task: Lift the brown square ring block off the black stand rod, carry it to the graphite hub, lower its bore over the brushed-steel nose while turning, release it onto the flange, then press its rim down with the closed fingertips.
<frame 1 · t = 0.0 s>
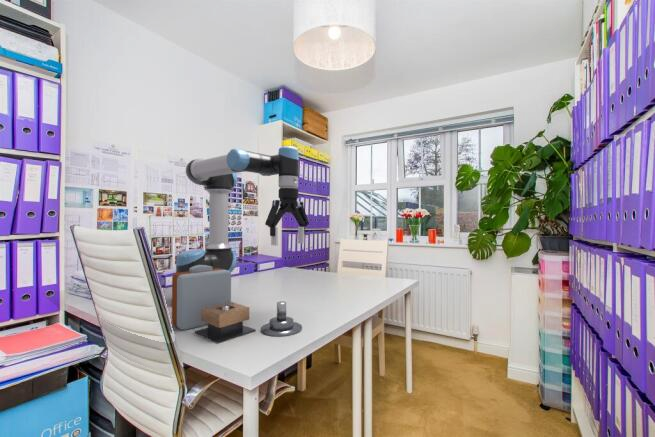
hand: (288, 244, 118), 28 cm above the table, fingers open, 13 cm apart
stand: (225, 331, 104), on the table
grey rounded upright slab: (202, 323, 113), on the table
brown square ring block: (225, 319, 104), point 4 cm above the table, touching stand
hub: (281, 328, 107), on the table
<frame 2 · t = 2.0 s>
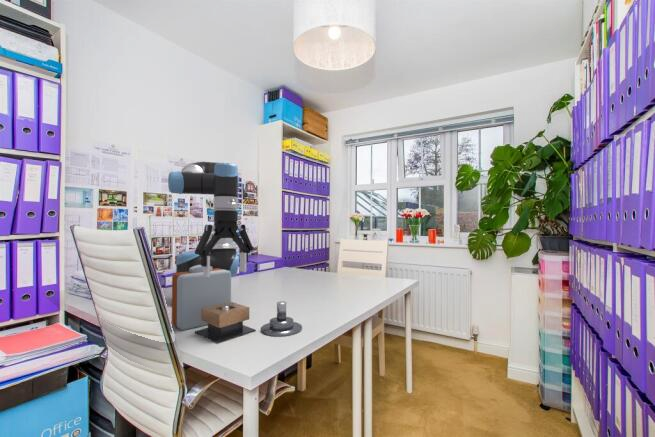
hand: (225, 274, 103), 19 cm above the table, fingers open, 13 cm apart
nothing on the table moved.
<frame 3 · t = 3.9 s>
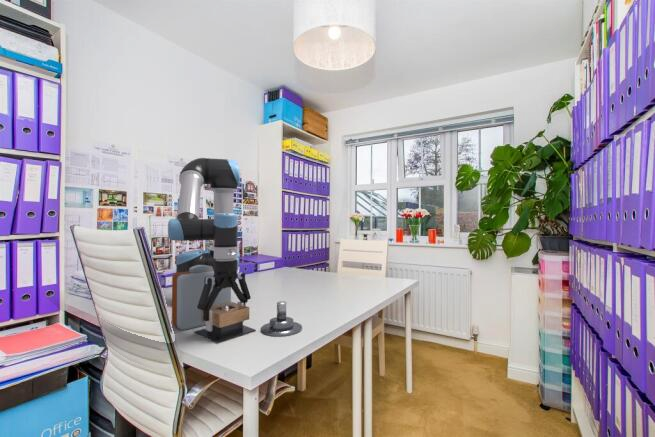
hand: (225, 325, 104), 2 cm above the table, fingers closed on brown square ring block, 11 cm apart
brown square ring block: (225, 319, 104), point 4 cm above the table, touching gripper, stand
everything else where it was.
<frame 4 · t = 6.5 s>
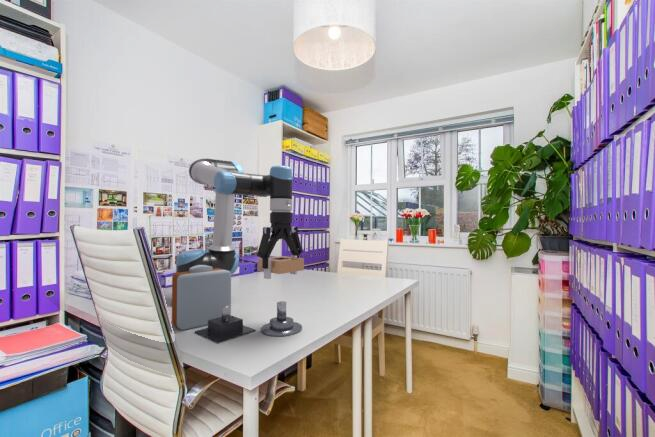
hand: (281, 276, 107), 18 cm above the table, fingers closed on brown square ring block, 11 cm apart
brown square ring block: (281, 270, 107), point 20 cm above the table, touching gripper
everything else where it was.
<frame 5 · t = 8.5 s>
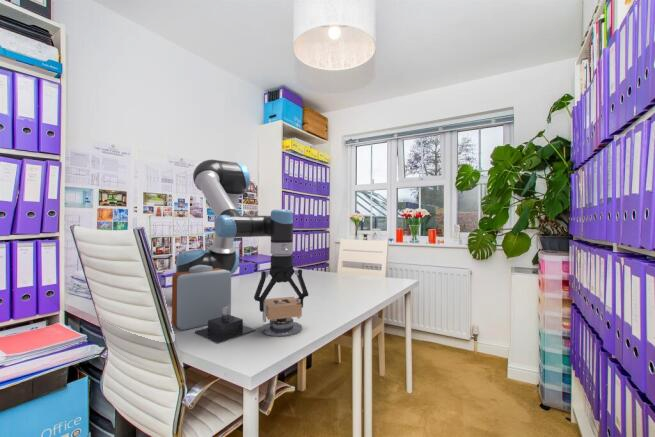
hand: (281, 319, 107), 3 cm above the table, fingers closed on brown square ring block, 11 cm apart
brown square ring block: (281, 313, 107), point 5 cm above the table, touching gripper
everything else where it was.
when the fingers open (2 cm above the table, at t = 9.4 s): brown square ring block drops 1 cm, resting on hub.
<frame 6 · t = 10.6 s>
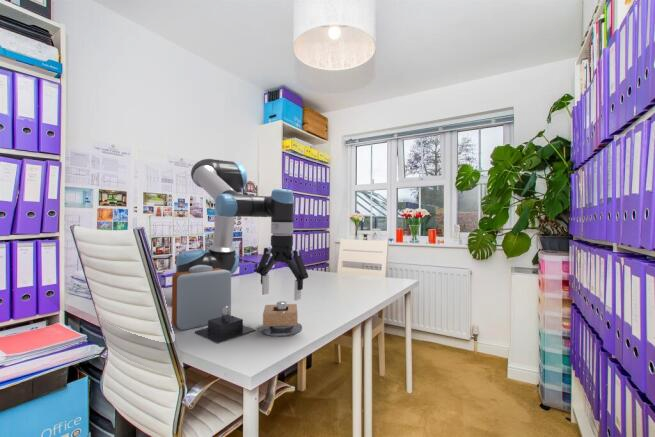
hand: (281, 296, 107), 11 cm above the table, fingers open, 13 cm apart
brown square ring block: (280, 320, 106), point 3 cm above the table, touching hub
everything else where it was.
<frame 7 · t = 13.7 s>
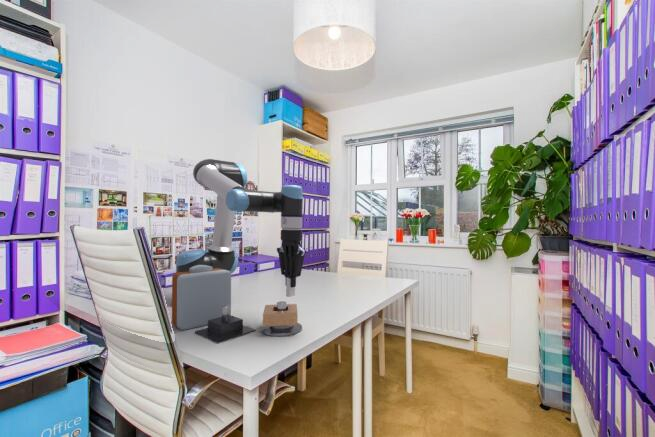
hand: (290, 295, 110), 10 cm above the table, fingers closed
nothing on the table moved.
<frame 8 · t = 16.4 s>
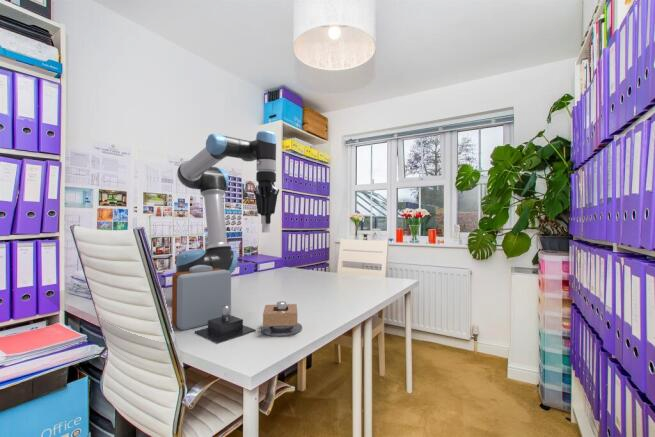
hand: (265, 232, 122), 32 cm above the table, fingers closed
nothing on the table moved.
at the end: brown square ring block 0.5 cm off-centre on the hub, point 3.0 cm above the hub's base; brown square ring block tilted 0°; the gripper is holding nothing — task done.
